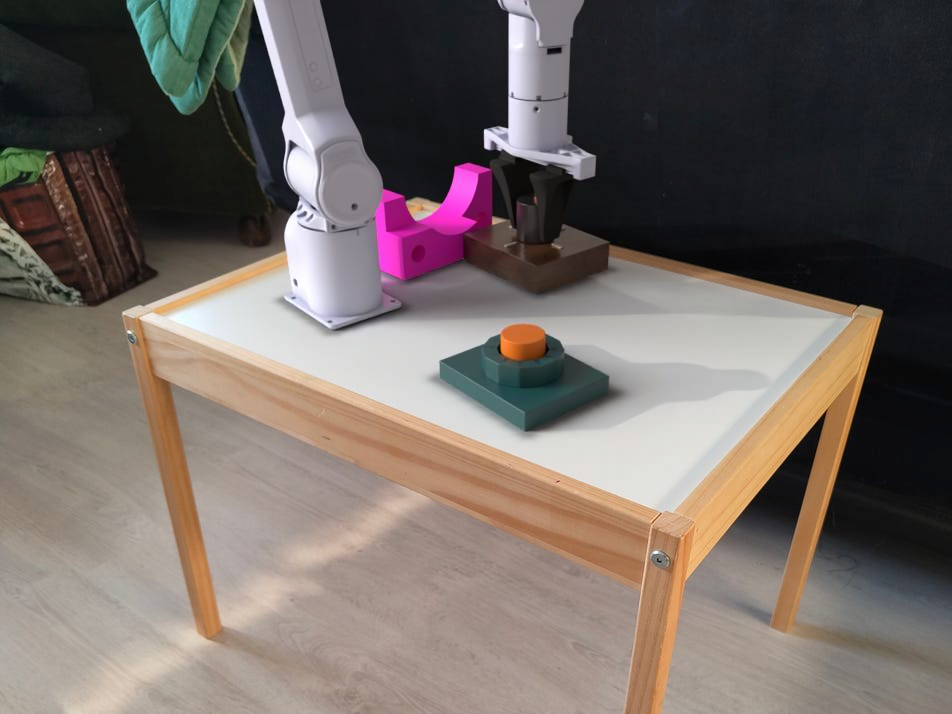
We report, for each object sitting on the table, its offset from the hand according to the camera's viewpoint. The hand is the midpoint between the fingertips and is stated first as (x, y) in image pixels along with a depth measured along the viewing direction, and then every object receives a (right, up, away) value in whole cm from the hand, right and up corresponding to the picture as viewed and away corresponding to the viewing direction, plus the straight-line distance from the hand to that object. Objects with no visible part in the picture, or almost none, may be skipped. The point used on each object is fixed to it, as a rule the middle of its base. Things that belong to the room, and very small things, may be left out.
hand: (535, 232), depth 93 cm
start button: (-2, -16, -21) cm, 26 cm away
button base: (-2, -18, -19) cm, 26 cm away
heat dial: (0, 0, 0) cm, 0 cm away
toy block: (-10, -1, +5) cm, 11 cm away
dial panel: (0, -3, +2) cm, 3 cm away
